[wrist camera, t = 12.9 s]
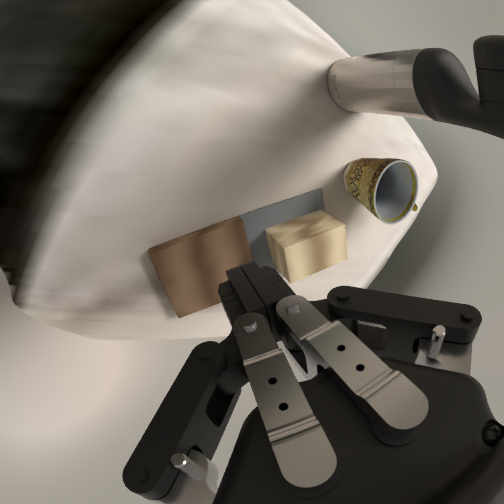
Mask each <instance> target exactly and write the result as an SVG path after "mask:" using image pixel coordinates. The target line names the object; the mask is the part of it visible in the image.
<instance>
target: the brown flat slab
mask: <svg viewBox="0 0 504 504" xmlns="http://www.w3.org/2000/svg"><path fill="white" fill-rule="evenodd" d="M149 257H150V259H151V261H152V263H153V265H154V268H155V270H156V272H157V274H158V276H159V278H160V281H161V283H162V285H163V287H164V289H165V291H166V293H167V295H168V297H169V299H170V301H171V303H172V305H173V307H174V309H175V311H176V313H177V315H178V317H179V318H181V317H184V316H186V315H189V314H192V313H194V312H197V311H200V310H202V309H205V308H208V307H210V306H213V305H215V304H218V303H221V299H220V296H219V294H218V287H219V284H220V283H223V282H225V281H228V279H227V276H226V272H225V271H226V270H229V269H231V268H234V267H237V266H240V265H242V264H244V263H247V262H250V261H252V260H253V257H252V253H251V250H250V246H249V242H248V238H247V234H246V231H245V227H244V223H243V220H242V219H241V218H240V217H239V216H237V217H234V218H231V219H228V220H225V221H223V222H220V223H217V224H214V225H212V226H209V227H206V228H203V229H201V230H198V231H195V232H192V233H190V234H187V235H184V236H182V237H179V238H176V239H174V240H171V241H168V242H166V243H163V244H160V245H158V246H155V247H153V248H150V249H149Z"/></svg>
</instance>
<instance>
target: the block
mask: <svg viewBox="0 0 504 504" xmlns="http://www.w3.org/2000/svg"><path fill="white" fill-rule="evenodd" d="M265 232H266V237H267V241H268V246H269V250H270V255H271V259H272V262H273V263H274V265H275V266H276V267H277V268H278V269H279V270H280V272H281V273H282V274H283V275H284V276H285V278H286V279H287V280H288V281H289V282H290V283H293V282H295V281H297V280H300V279H302V278H305V277H307V276H309V275H312V274H314V273H316V272H319V271H321V270H323V269H326V268H328V267H330V266H332V265H335V264H337V263H339V262H342V261H344V260H346V259H347V244H346V228H345V224H344V223H342V222H340V221H339V220H337V219H335V218H334V217H332V216H330V215H329V214H327V213H325V212H324V211H322V210H318V211H315V212H312V213H310V214H307V215H304V216H301V217H298V218H295V219H293V220H290V221H287V222H284V223H281V224H278V225H276V226H273V227H270V228H267V229H265Z"/></svg>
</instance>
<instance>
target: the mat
mask: <svg viewBox="0 0 504 504" xmlns="http://www.w3.org/2000/svg"><path fill="white" fill-rule="evenodd" d="M318 210H322V211H324V205H323V198H322V190H321V189H317V190H314V191H311V192H308V193H305V194H302V195H299V196H296V197H293V198H290V199H287V200H284V201H281V202H278V203H275V204H272V205H269V206H266V207H263V208H260V209H257V210H254V211H251V212H248V213H245V214H243V215H240V216H239V217H240V218H241V219H242V220H243V223H244V227H245V231H246V234H247V238H248V242H249V246H250V250H251V253H252V257H253V260H254V261H255V263H256V264H257V265H258V267H259V268H261V267H264V266H269V267H271V268H274V269H276V268H277V267H276V266H275V265H274V263H273V262H272V259H271V255H270V250H269V246H268V241H267V237H266V232H265V229H267V228H270V227H273V226H276V225H278V224H281V223H284V222H287V221H290V220H293V219H295V218H298V217H301V216H304V215H307V214H310V213H312V212H315V211H318Z"/></svg>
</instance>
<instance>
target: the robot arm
mask: <svg viewBox="0 0 504 504" xmlns="http://www.w3.org/2000/svg"><path fill="white" fill-rule="evenodd" d="M473 51H474V59H475V66H476V69H477V70H476V73H477V81H478V89H479V95H478V93H477V92H476V90H475V88H474V87H473V85H472V83H471V81H470V78H469V76H468V74H467V72H466V70H465V68H464V67H463V65H462V63H461V62H460V60H459V59H458V58H457V57H456V56H455V55H454V54H453V53H451V52H450V51H448V50H445V49H442V48H426V49H412V50H402V51H393V52H384V53H376V54H370V55H364V56H357V57H351V58H346V59H341V60H339V61H337V62H335V63H334V64H333V65H332V67H331V69H330V70H329V74H328V88H329V92H330V94H331V96H332V98H333V100H334V101H335V102H336V103H337V104H338V105H339V106H340V107H341V108H343V109H344V110H347V111H352V112H366V113H377V114H387V115H397V116H405V117H413V118H420V119H427V120H433V121H439V122H445V123H450V124H454V125H459V126H463V127H468V128H472V129H475V130H479V131H482V132H485V133H488V134H491V135H494V136H497V137H500V138H502V139H504V36H502V35H491V36H484V37H480V38H478V39H477V40H475V42H474V44H473ZM225 272H226V276H227V279H228V281H225V282H223V283H220V284H219V287H218V294H219V296H220V299H221V302H222V304H223V307H224V309H225V312H226V315H227V317H228V319H229V321H230V324H231V326H232V330H231V333H230V334H229V336H228V337H227V338H226V339H225V340H223V341H222V342H220V343H217V342H214V341H207V342H203V343H201V344H199V345H197V346H196V347H195V348H194V349H193V350H192V352H191V354H190V356H189V357H188V359H187V360H186V362H185V364H184V366H183V367H182V369H181V371H180V372H179V374H178V376H177V378H176V379H175V381H174V383H173V385H172V386H171V388H170V390H169V391H168V393H167V395H166V397H165V398H164V400H163V402H162V403H161V405H160V407H159V409H158V410H157V412H156V414H155V416H154V417H153V419H152V421H151V423H150V424H149V426H148V428H147V429H146V431H145V433H144V435H143V436H142V438H141V440H140V442H139V443H138V445H137V447H136V448H135V450H134V452H133V454H132V455H131V457H130V459H129V461H128V462H127V464H126V466H125V468H124V470H123V474H122V476H123V482H124V484H125V486H126V487H127V488H128V489H129V490H130V491H132V492H134V493H137V494H139V495H141V496H143V497H144V498H146V499H148V500H151V501H153V502H156V503H159V504H504V426H503V425H501V424H499V423H498V422H497V421H496V420H495V418H494V416H493V414H492V412H491V410H490V408H489V405H488V402H487V398H486V394H485V391H484V389H483V387H482V386H481V384H480V383H479V382H478V381H477V380H475V378H473V377H471V376H470V367H471V353H472V343H473V340H474V338H475V336H476V334H477V331H478V329H479V326H480V324H481V321H482V317H481V314H480V312H479V311H478V310H477V309H476V308H475V307H473V306H471V305H467V304H460V303H453V302H446V301H439V300H433V299H426V298H419V297H412V296H406V295H400V294H394V293H387V292H380V291H375V290H369V289H363V288H357V287H350V286H339V287H335V288H333V289H332V290H331V291H330V292H329V293H328V295H327V299H323V300H318V301H308V300H307V299H305V298H304V297H302V296H298V295H296V294H295V293H294V292H293V291H292V289H291V288H290V287H289V286H288V284H287V283H286V282H285V281H284V280H283V278H282V277H281V276H280V275H279V274H278V272H277V271H276V270H275V269H274V268H271V267H269V266H264V267H261V268H259V267H258V265H257V264H256V263H255V261H254V260H252V261H250V262H247V263H244V264H242V265H240V266H237V267H234V268H231V269H229V270H226V271H225ZM359 320H360V321H365V322H370V323H375V324H381V325H383V326H385V327H386V328H387V329H384V328H379V327H373V326H368V325H363V324H359ZM281 340H282V342H283V344H284V346H285V350H286V353H287V354H288V356H289V357H290V358H291V359H292V361H293V362H294V364H295V365H296V366H297V367H298V369H299V370H300V371H301V373H302V374H303V375H304V376H305V378H306V379H307V381H303V382H298V381H297V379H296V377H295V375H294V373H293V371H292V369H291V367H290V365H289V363H288V360H287V358H286V356H285V354H284V352H283V350H282V349H279V347H278V344H277V342H278V341H281ZM248 382H250V385H251V388H252V391H253V393H254V396H255V399H256V402H257V405H258V406H257V407H256V408H255V409H254V410H253V411H252V412H251V413H250V414H249V415H248V417H247V418H246V419H245V421H244V423H243V425H242V428H241V430H240V433H239V436H238V439H237V442H236V444H235V447H234V449H233V452H232V455H231V457H230V460H229V463H228V466H227V468H226V471H225V473H224V476H223V478H222V481H221V483H220V486H219V488H218V490H217V479H218V470H217V467H216V466H215V465H214V463H212V462H211V460H212V457H213V455H214V453H215V451H216V449H217V446H218V444H219V442H220V439H221V437H222V435H223V433H224V431H225V428H226V426H227V424H228V422H229V419H230V417H231V415H232V412H233V410H234V407H235V405H236V403H237V400H238V398H239V396H240V393H241V387H243V386H244V385H245V384H246V383H248Z"/></svg>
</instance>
